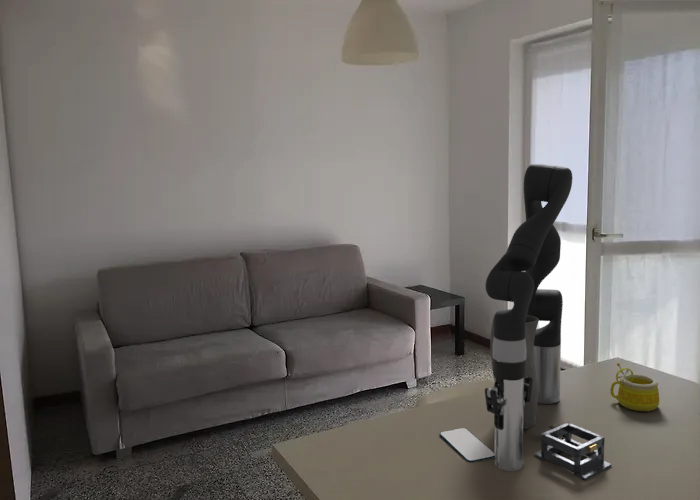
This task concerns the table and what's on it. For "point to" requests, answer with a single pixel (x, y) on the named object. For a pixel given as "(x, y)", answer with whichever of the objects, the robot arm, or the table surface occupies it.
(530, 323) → the vase
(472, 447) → the smartphone
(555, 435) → the collar bracket
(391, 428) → the table surface
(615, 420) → the table surface
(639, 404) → the mug
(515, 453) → the silver metal cylinder
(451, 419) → the table surface
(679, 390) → the table surface
